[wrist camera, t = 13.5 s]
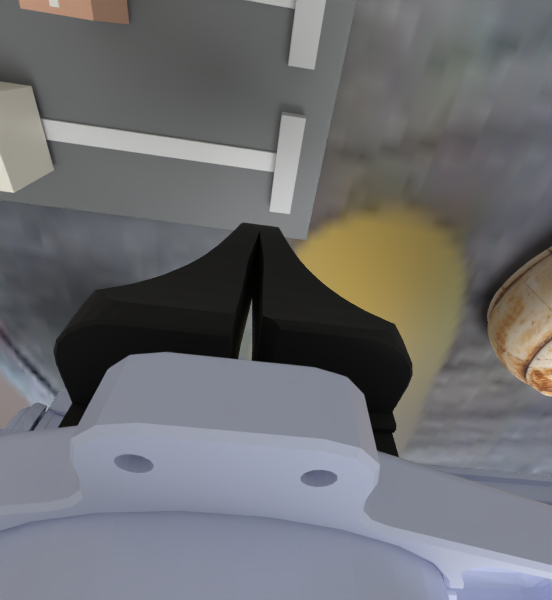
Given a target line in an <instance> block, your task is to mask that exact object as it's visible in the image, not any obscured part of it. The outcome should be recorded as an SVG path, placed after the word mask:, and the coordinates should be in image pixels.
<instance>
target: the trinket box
mask: <svg viewBox="0 0 552 600" xmlns="http://www.w3.org/2000/svg"><path fill="white" fill-rule="evenodd" d="M487 321H488V337H489V341H490V343H491V346H492V348H493V350H494V352H495V354H496V355H497V357H498V358H499V360H500V361H501V363H502V364H503V365H504V366H505V367H506V368H507V369H508V370H509V371H510V372H511V373H512V374H513V375H514V376H516V377H517V378H518V379H520V380H521V381H523V382H525V383H526V384H528V385H531V386H532V387H533V388H535V389H536V390H538V391H539V392H540V393H542V394H544V395H547V396H551V397H552V246H551V247H550V248H548V249H546V250H545V251H543V252H542V253H540V254H538V255H537V256H536V257H534V258H533V259H531V260H530V261H528V262H527V263H526V264H525V265H523V266H522V267H521V268H520V269H519V270H517V271H516V272H515V273H514V274H513V275H512V276H511V277H510V278H509V279H508V280H507V281H506V282H505V283H504V284H503V285H502V286H501V287H500V288H499V290H498V291H497V292H496V294H495V295H494V297H493V299H492V301H491V303H490V305H489V309H488V313H487Z"/></svg>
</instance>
